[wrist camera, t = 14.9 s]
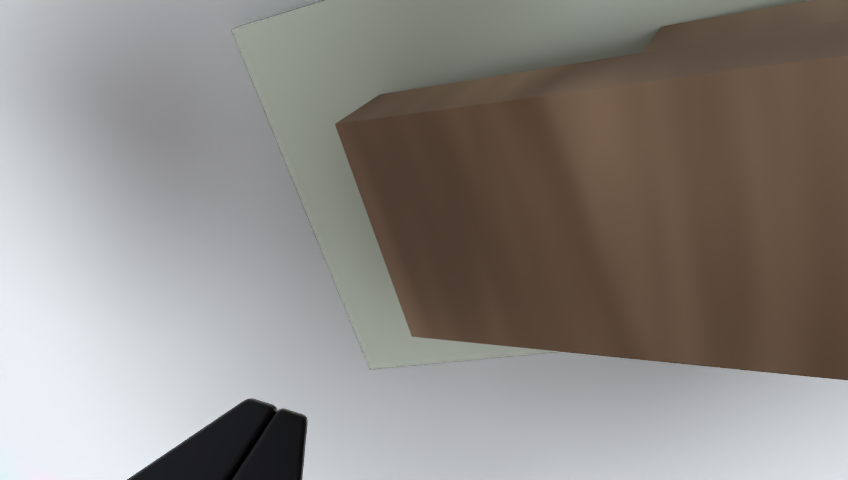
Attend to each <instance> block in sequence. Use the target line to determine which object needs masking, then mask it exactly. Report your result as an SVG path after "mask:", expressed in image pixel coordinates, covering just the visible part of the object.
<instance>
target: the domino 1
mask: <svg viewBox="0 0 848 480" xmlns="http://www.w3.org/2000/svg"><path fill="white" fill-rule="evenodd" d="M335 126H336V129H337V132H338V134H339V137H340V140H341V143H342V146H343V148H344V151H345V154H346V157H347V159H348V162H349V165H350V168H351V170H352V173H353V176H354V179H355V181H356V184H357V187H358V190H359V192H360V195H361V198H362V201H363V203H364V206H365V209H366V212H367V214H368V217H369V220H370V223H371V226H372V228H373V231H374V234H375V237H376V239H377V242H378V245H379V248H380V250H381V253H382V256H383V259H384V261H385V264H386V267H387V270H388V272H389V275H390V278H391V281H392V283H393V286H394V289H395V292H396V294H397V297H398V300H399V303H400V306H401V308H402V311H403V314H404V317H405V319H406V322H407V325H408V328H409V330H410V333H411V336H412V337H420V338H430V339H440V340H450V341H460V342H470V343H480V344H490V345H500V346H510V347H520V348H530V349H540V350H550V351H560V352H570V353H580V354H590V355H600V356H610V357H620V358H630V359H640V360H650V361H660V362H670V363H680V364H690V365H700V366H710V367H720V368H730V369H740V370H750V371H760V372H770V373H780V374H790V375H800V376H810V377H820V378H830V379H840V380H848V20H843V21H837V22H831V23H825V24H818V25H812V26H806V27H800V28H793V29H787V30H781V31H775V32H768V33H762V34H756V35H749V36H743V37H737V38H731V39H724V40H718V41H712V42H706V43H699V44H693V45H687V46H681V47H674V48H668V49H662V50H656V51H649V52H643V53H637V54H631V55H624V56H618V57H612V58H605V59H599V60H593V61H587V62H580V63H574V64H568V65H562V66H555V67H549V68H543V69H537V70H530V71H524V72H518V73H512V74H505V75H499V76H493V77H487V78H480V79H474V80H468V81H461V82H455V83H449V84H443V85H436V86H430V87H424V88H418V89H411V90H405V91H399V92H393V93H386V94H380V95H378V96H377V97H375V98H373V99H372V100H370V101H369V102H367V103H366V104H364V105H363V106H361V107H360V108H358V109H357V110H355V111H354V112H352V113H351V114H349V115H348V116H346V117H345V118H343V119H342V120H340V121H339V122H337V123H335Z"/></svg>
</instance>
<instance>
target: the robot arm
mask: <svg viewBox="0 0 848 480" xmlns="http://www.w3.org/2000/svg"><path fill="white" fill-rule="evenodd" d="M306 433H307V417H306V416H305V415H302V414H299V413H296V412H293V411H290V410H287V409H279V410H278V411H277V408H276V406H274V405H272V404H268V403H265V402H262V401H259V400H256V399H247V400H245V401H243V402H241V403H240V404H238V405H237V406H235V407H234V408H232V409H231V410H230V411H228V412H227V413H225V414H224V415H222V416H221V417H219V418H218V419H216V420H215V421H213V422H212V423H210V424H209V425H207V426H206V427H204V428H203V429H201V430H200V431H198V432H197V433H195V434H194V435H193V436H191V437H190V438H188V439H187V440H185V441H184V442H182V443H181V444H179V445H178V446H176V447H175V448H173V449H172V450H170V451H169V452H167V453H166V454H164V455H163V456H161V457H160V458H158V459H157V460H156V461H154V462H153V463H151V464H150V465H148V466H147V467H145V468H144V469H142V470H141V471H139V472H138V473H136V474H135V475H133V476H132V477H130V478H129V479H127V480H302V476H303V465H304V454H305V444H306Z"/></svg>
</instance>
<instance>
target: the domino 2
mask: <svg viewBox="0 0 848 480" xmlns="http://www.w3.org/2000/svg"><path fill="white" fill-rule="evenodd" d="M843 20H848V0H808V1H802V2H797V3H791V4H785V5H780V6H774V7H768V8H763V9H757V10H752V11H746V12H740V13H735V14H729V15H723V16H718V17H712V18H707V19H701V20H695V21H690V22H684V23H678V24H673V25H667V26H662V27H661V28H660V29H659V31H658V32H657V33H656V34H655V36H654V37H653V38H652V40H651V41H650V42H649V44H648V45H647V46H646V48H645V49H644V50H643V52H649V51H656V50H662V49H668V48H674V47H681V46H687V45H693V44H699V43H706V42H712V41H718V40H724V39H731V38H737V37H743V36H749V35H756V34H762V33H768V32H775V31H781V30H787V29H793V28H800V27H806V26H812V25H818V24H825V23H831V22H837V21H843ZM643 52H642V53H643Z"/></svg>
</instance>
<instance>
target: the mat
mask: <svg viewBox="0 0 848 480" xmlns="http://www.w3.org/2000/svg"><path fill="white" fill-rule="evenodd" d="M802 1H808V0H325V1H322V2H318V3H315V4H312V5H308V6H305V7H302V8H298V9H295V10H292V11H288V12H285V13H282V14H278V15H275V16H272V17H269V18H265V19H262V20H259V21H255V22H252V23H249V24H245V25H242V26H239V27H236V28H234V29H232V30H231V31H232V33H233V36H234V38H235V40H236V43H237V45H238V48H239V50H240V53H241V55H242V58H243V60H244V62H245V65H246V67H247V70H248V72H249V75H250V77H251V80H252V82H253V85H254V87H255V89H256V92H257V94H258V97H259V99H260V102H261V104H262V107H263V109H264V111H265V114H266V116H267V119H268V121H269V124H270V126H271V129H272V131H273V134H274V136H275V138H276V141H277V143H278V146H279V148H280V151H281V153H282V156H283V158H284V160H285V163H286V165H287V168H288V170H289V173H290V175H291V178H292V180H293V183H294V185H295V187H296V190H297V192H298V195H299V197H300V200H301V202H302V205H303V207H304V209H305V212H306V214H307V217H308V219H309V222H310V224H311V227H312V229H313V231H314V234H315V236H316V239H317V241H318V244H319V246H320V249H321V251H322V254H323V256H324V258H325V261H326V263H327V266H328V268H329V271H330V273H331V276H332V278H333V280H334V283H335V285H336V288H337V290H338V293H339V295H340V298H341V300H342V303H343V305H344V307H345V310H346V312H347V315H348V317H349V320H350V322H351V325H352V327H353V329H354V332H355V334H356V337H357V339H358V342H359V344H360V347H361V349H362V352H363V354H364V356H365V359H366V361H367V364H368V366H369V369H380V368H391V367H402V366H412V365H423V364H434V363H445V362H456V361H466V360H477V359H488V358H499V357H509V356H520V355H531V354H542V353H553V352H560V351H550V350H540V349H530V348H520V347H510V346H500V345H490V344H480V343H470V342H460V341H450V340H440V339H430V338H420V337H412V336H411V333H410V330H409V328H408V325H407V322H406V319H405V317H404V314H403V311H402V308H401V306H400V303H399V300H398V297H397V294H396V292H395V289H394V286H393V283H392V281H391V278H390V275H389V272H388V270H387V267H386V264H385V261H384V259H383V256H382V253H381V250H380V248H379V245H378V242H377V239H376V237H375V234H374V231H373V228H372V226H371V223H370V220H369V217H368V214H367V212H366V209H365V206H364V203H363V201H362V198H361V195H360V192H359V190H358V187H357V184H356V181H355V179H354V176H353V173H352V170H351V168H350V165H349V162H348V159H347V157H346V154H345V151H344V148H343V146H342V143H341V140H340V137H339V134H338V132H337V129H336V126H335V123H337V122H339V121H340V120H342V119H343V118H345V117H346V116H348V115H349V114H351V113H352V112H354V111H355V110H357V109H358V108H360V107H361V106H363V105H364V104H366V103H367V102H369V101H370V100H372V99H373V98H375V97H377V96H378V95H380V94H386V93H393V92H399V91H405V90H411V89H418V88H424V87H430V86H436V85H443V84H449V83H455V82H461V81H468V80H474V79H480V78H487V77H493V76H499V75H505V74H512V73H518V72H524V71H530V70H537V69H543V68H549V67H555V66H562V65H568V64H574V63H580V62H587V61H593V60H599V59H605V58H612V57H618V56H624V55H631V54H637V53H642V52H643V50H644V49H645V48H646V46H647V45H648V44H649V42H650V41H651V40H652V38H653V37H654V36H655V34H656V33H657V32H658V31H659V29H660V28H661V27H662V26H667V25H673V24H678V23H684V22H690V21H695V20H701V19H707V18H712V17H718V16H723V15H729V14H735V13H740V12H746V11H752V10H757V9H763V8H768V7H774V6H780V5H785V4H791V3H797V2H802Z"/></svg>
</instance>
